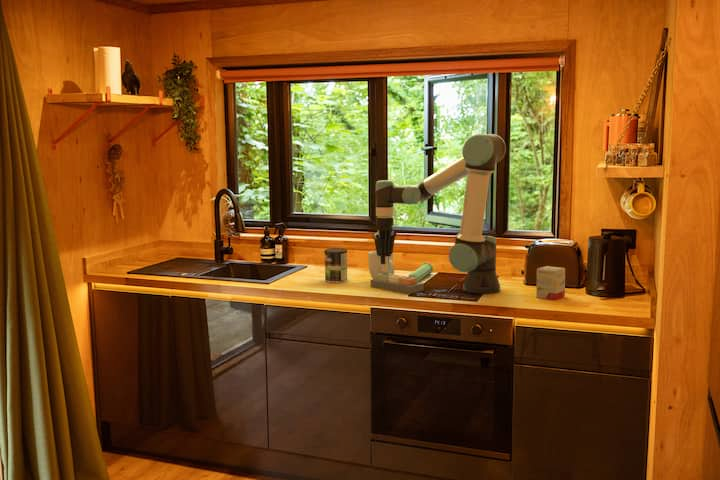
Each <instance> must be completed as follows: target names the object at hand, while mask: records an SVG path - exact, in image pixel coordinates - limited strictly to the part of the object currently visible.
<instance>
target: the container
mask: <svg viewBox="0 0 720 480" xmlns="http://www.w3.org/2000/svg"><path fill="white" fill-rule="evenodd" d="M433 272H434V266H433V265H432V264H431V263H430V262H424V263H423V264H422V265H420V267H418V268H417V269H415V270H414V271H412V272H411V273H409V274H408V275H407V276H408V277H414V278H417V282H418V283H419V282H420V281H422V280H423V279H424V278H425V277H427V276H428V275H431V274H432V273H433Z"/></svg>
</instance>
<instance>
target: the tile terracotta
mask: <svg viewBox="0 0 720 480" xmlns="http://www.w3.org/2000/svg"><path fill="white" fill-rule="evenodd" d="M408 276H409V275H407V276H405V277H403V278H400V284H403V285H408V286H410V285H414V284H417V278H414V277H408Z"/></svg>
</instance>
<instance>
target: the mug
mask: <svg viewBox="0 0 720 480" xmlns="http://www.w3.org/2000/svg"><path fill="white" fill-rule="evenodd" d="M367 255H368V269H369V274H370V277H371V278H372V279H371V280H373V279H377V274H381V273H390V274H393V275H395V265H394V252H393V253H392V254H390V255H391V256H389V263H388V272H383V271H382V268H381V257H380V256H378V255H377V251H376V250H371V251H368V254H367Z"/></svg>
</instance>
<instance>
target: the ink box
mask: <svg viewBox="0 0 720 480" xmlns="http://www.w3.org/2000/svg"><path fill="white" fill-rule="evenodd" d="M535 291H536V293H535V294H536V298H539V299H548V300H554V301H558V300H559V299H562V298H564V296H566V268H565V267H560V266H559V267H557V266H551V265H546V266H542V267H538V268H536V289H535Z"/></svg>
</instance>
